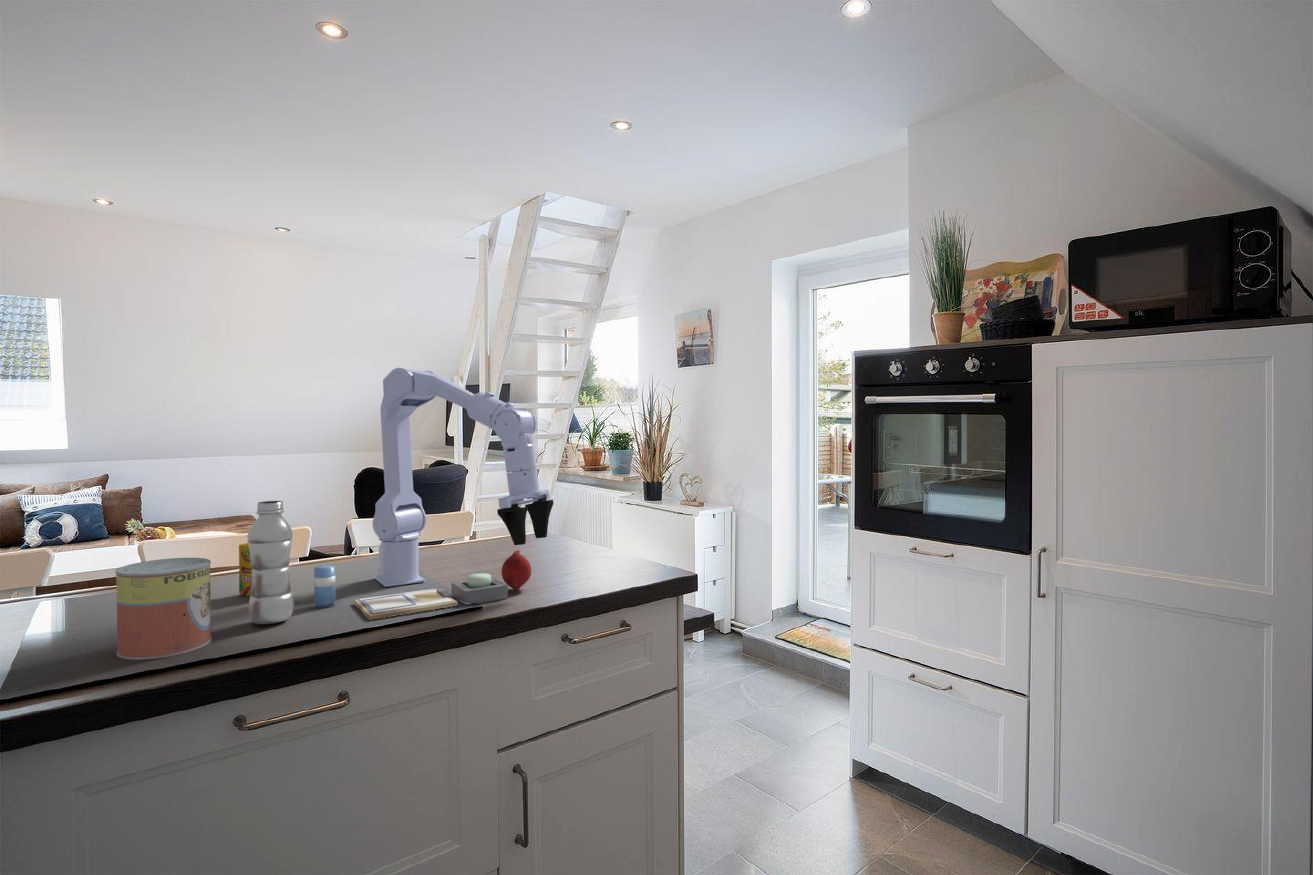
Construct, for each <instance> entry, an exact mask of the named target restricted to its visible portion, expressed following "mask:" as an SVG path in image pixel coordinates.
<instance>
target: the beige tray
mask: <svg viewBox="0 0 1313 875" xmlns="http://www.w3.org/2000/svg"><path fill="white" fill-rule="evenodd" d="M353 601H354V602H353V604H354V606H355V607H356V608H357V609H358V610H359V611H360V610H361V611H362V612H363V613H364V614H363V613H362V612H361V611H360V612H361V613H362V614H363V615H364V616H365V617H366V618H367V619H368V621H370V620H371V621H374V620H373V619H377V620H379V619H378V618H383V619H385V618H384V617H389V616H393V615H400V614H406V613H411V612H418V611H423V610H433V611H436V610H435V609H439V608H443V607H449V606H455V605H458V606H459V601H458V600H457V599H455V598H454V597H453V596H452V594H451V593H450V592H449V591H447V590H446V589H443V588H440V589H439V588H437V587H436V588H435V587H434V588H426V589H420V590H413V591H408V592H400V593H392V594H386V595H385V594H383V595H378V596H372V597H365V598H363V597H362V598H357V599H354V600H353ZM439 610H440V609H439ZM389 618H390V617H389Z"/></svg>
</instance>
